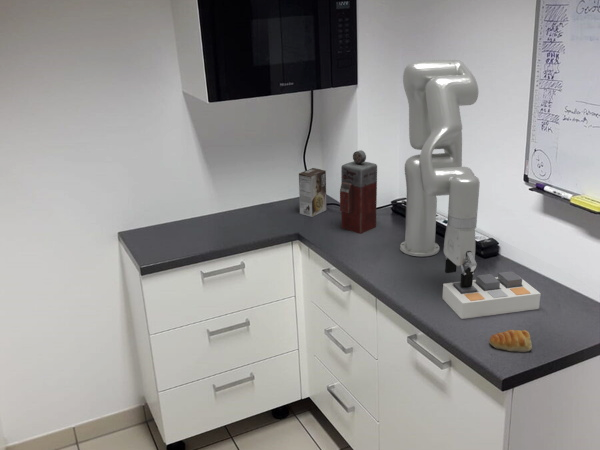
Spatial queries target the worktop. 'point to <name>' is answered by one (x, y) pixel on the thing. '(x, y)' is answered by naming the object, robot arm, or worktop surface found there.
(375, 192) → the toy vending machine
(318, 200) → the coffee box
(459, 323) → the worktop surface
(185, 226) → the worktop surface
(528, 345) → the pastry
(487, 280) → the button
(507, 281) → the button
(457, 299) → the switch box
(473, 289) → the button
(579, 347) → the worktop surface
